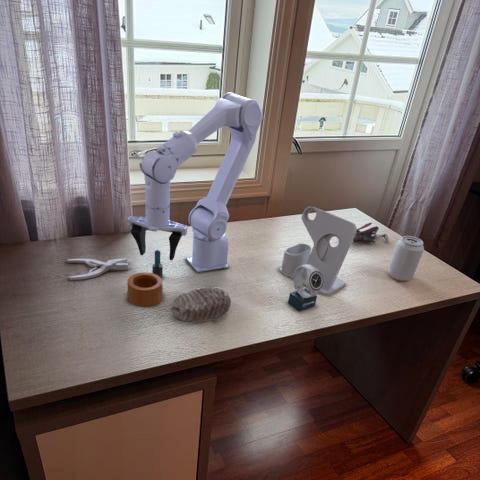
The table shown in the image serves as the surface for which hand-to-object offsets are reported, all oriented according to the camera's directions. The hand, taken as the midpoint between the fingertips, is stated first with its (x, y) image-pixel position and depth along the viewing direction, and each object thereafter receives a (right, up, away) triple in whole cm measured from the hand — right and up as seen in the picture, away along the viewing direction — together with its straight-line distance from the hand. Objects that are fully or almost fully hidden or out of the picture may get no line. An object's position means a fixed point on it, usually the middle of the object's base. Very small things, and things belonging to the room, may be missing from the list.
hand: (157, 256), depth 113 cm
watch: (+37, -13, +1) cm, 39 cm away
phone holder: (+41, -4, +13) cm, 44 cm away
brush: (-1, -5, +4) cm, 6 cm away
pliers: (-16, -3, +4) cm, 17 cm away
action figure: (+62, +10, +37) cm, 73 cm away
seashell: (+12, -15, -7) cm, 20 cm away
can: (+69, -3, +19) cm, 72 cm away
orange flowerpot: (-2, -11, -4) cm, 12 cm away
